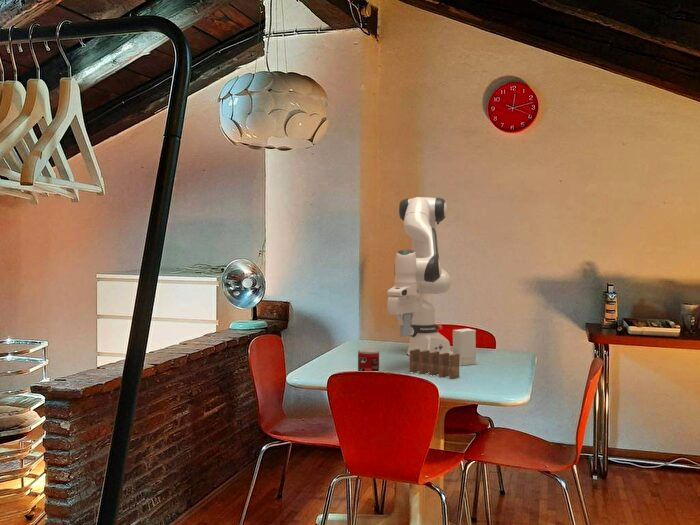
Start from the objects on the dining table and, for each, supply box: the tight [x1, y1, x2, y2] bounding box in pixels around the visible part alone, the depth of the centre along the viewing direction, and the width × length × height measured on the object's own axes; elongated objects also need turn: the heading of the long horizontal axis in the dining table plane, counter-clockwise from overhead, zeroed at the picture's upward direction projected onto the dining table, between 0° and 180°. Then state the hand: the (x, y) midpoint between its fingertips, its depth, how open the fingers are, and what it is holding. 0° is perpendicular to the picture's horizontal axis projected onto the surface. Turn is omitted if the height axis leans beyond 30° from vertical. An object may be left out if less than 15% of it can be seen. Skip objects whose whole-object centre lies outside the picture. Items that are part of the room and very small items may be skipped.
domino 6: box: [448, 354, 460, 380], centre depth 275 cm, size 2×5×9 cm, turn 142°
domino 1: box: [399, 313, 411, 338], centre depth 288 cm, size 2×5×9 cm, turn 142°
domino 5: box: [438, 352, 449, 378], centre depth 278 cm, size 2×5×9 cm, turn 142°
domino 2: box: [409, 349, 420, 373], centre depth 286 cm, size 2×5×9 cm, turn 142°
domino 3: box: [418, 350, 430, 375], centre depth 283 cm, size 2×5×9 cm, turn 142°
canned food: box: [357, 348, 380, 372], centre depth 272 cm, size 8×8×11 cm
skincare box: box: [452, 328, 477, 367], centre depth 303 cm, size 8×6×15 cm
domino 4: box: [428, 351, 439, 377], centre depth 280 cm, size 2×5×9 cm, turn 142°
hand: (405, 324), depth 288 cm, fingers closed on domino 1, 5 cm apart
